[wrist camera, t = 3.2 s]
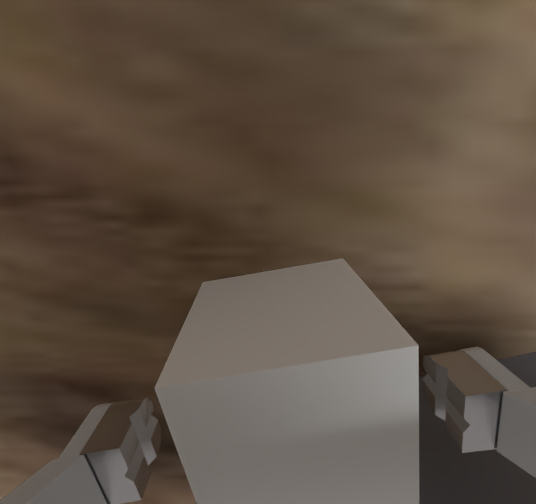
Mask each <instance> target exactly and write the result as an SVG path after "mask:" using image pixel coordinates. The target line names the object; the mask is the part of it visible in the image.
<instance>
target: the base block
mask: <svg viewBox="0 0 536 504" xmlns="http://www.w3.org/2000/svg"><path fill="white" fill-rule="evenodd" d="M497 361H498V362H500V363H501V364H502V365H503V366H505V367H506V368H507V369H508V370H509V371H511V372H512V373H513V374H514V375H515V376H517V377H518V378H519V379H520V380H522V381H523V382H524V383H525V384H526V385H528V386H529V387H530V388H532V387H536V352H532V353H528V354H523V355H518V356H514V357H509V358H504V359H500V360H497ZM425 376H426V375H425ZM425 376H420V377H419V504H536V478H535V477H533V476H532V475H531V474H529V473H528V472H526V471H525V470H523V469H522V468H520V467H519V466H517V465H516V464H515V463H513V462H512V461H510V460H509V459H507V458H506V457H504V456H503V455H501V454H500V453H499V452H497V451H496V450H497V449H493V450H484V451H475V452H466V453H462V452H461V451H460V450H459V448H458V447H457V445H456V444H455V443H454V441H453V440H452V438H451V437H450V435H449V434H448V433H447V431H446V430H445V421H444V420H443V419H441V418H439V417H438V416H436V415H435V414H434V413H433V411H432V410H431V408H430V407H429V405H428V403H427V401H426V398H425V395H424V391H423V378H424V377H425Z"/></svg>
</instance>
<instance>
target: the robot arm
mask: <svg viewBox="0 0 536 504" xmlns="http://www.w3.org/2000/svg"><path fill="white" fill-rule="evenodd" d="M423 368H424V369H425V371H426V372H427V374H426V376H425V377H424V378H423V391H424V395H425V398H426V401H427V403H428V405H429V407H430V408H431V410H432V411H433V413H434V414H435V415H436V416H438V417H439V418H441V419H443V420H444V421H445V430H446V431H447V433H448V434H449V435H450V437H451V438H452V440H453V441H454V443H455V444H456V445H457V447H458V448H459V450H460V451H461V452H462V453H466V452H475V451H484V450H493V449H497V450H496V451H497V452H499V453H500V454H501V455H503V456H504V457H506V458H507V459H509V460H510V461H512V462H513V463H515V464H516V465H517V466H519V467H520V468H522V469H523V470H525V471H526V472H528V473H529V474H531V475H532V476H533V477H535V478H536V387H532V388H530V387H529V386H528V385H526V384H525V383H524V382H523V381H522V380H520V379H519V378H518V377H517V376H515V375H514V374H513V373H512V372H511V371H509V370H508V369H507V368H506V367H505V366H503V365H502V364H501V363H500V362H498V361H497V360H496V359H495V358H494V357H492V356H491V355H490V354H489V353H487V352H486V351H485V350H484V349H482V348H480V347H472V348H466V349H460V350H456V351H450V352H444V353H437V354H431V355H425V356H424V358H423ZM153 409H154V407H153V404H152V402H151V399H148V398H143V399H136V400H128V401H120V402H114V403H107V404H99V405H97V406H95V407H94V408H92V410H91V411H90V413H89V414H88V416H87V417H86V418H85V420H84V421H83V423H82V424H81V426H80V427H79V429H78V430H77V432H76V433H75V434H74V436H73V437H72V439H71V440H70V442H69V443H68V445H67V446H66V448H65V449H64V451H63V452H62V453H61V455H60V456H59V458H58V459H52V460H51V461H50V462H48V463H47V464H46V465H45V466H43V467H42V468H41V469H39V470H38V471H37V472H36V473H34V474H33V475H32V476H31V477H29V478H28V479H27V480H25V481H24V482H23V483H22V484H20V485H19V486H18V487H17V488H15V489H14V490H13V491H11V492H10V493H9V494H8V495H6V496H5V497H4V498H3V499H1V500H0V504H122V503H127V502H133V501H138V500H142V497H143V494H144V491H145V488H146V486H147V483H148V480H149V477H150V474H151V472H150V469H149V466H148V465H149V464H150V463H151V462H152V461H153V460H154V459H155V458H156V457H157V454H158V451H159V448H160V442H161V427H160V424H159V421H158V419H156V418H155V417H154V416H152V415H151V414H152V412H153Z"/></svg>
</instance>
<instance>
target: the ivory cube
mask: <svg viewBox="0 0 536 504" xmlns="http://www.w3.org/2000/svg"><path fill="white" fill-rule="evenodd" d="M154 389H155V392H156V395H157V397H158V400H159V403H160V405H161V408H162V411H163V414H164V416H165V419H166V422H167V425H168V427H169V430H170V433H171V435H172V438H173V441H174V444H175V446H176V449H177V452H178V454H179V457H180V460H181V463H182V465H183V468H184V471H185V473H186V476H187V479H188V482H189V484H190V487H191V490H192V493H193V495H194V498H195V501H196V503H197V504H419V345H418V344H417V343H416V342H415V341H414V340H413V338H412V337H411V336H410V335H409V334H408V333H407V331H406V330H405V329H404V328H403V327H402V326H401V325H400V323H399V322H398V321H397V320H396V319H395V318H394V316H393V315H392V314H391V313H390V312H389V311H388V310H387V308H386V307H385V306H384V305H383V304H382V303H381V301H380V300H379V299H378V298H377V297H376V296H375V294H374V293H373V292H372V291H371V290H370V289H369V288H368V286H367V285H366V284H365V283H364V282H363V281H362V279H361V278H360V277H359V276H358V275H357V274H356V273H355V271H354V270H353V269H352V268H351V267H350V266H349V264H348V263H347V262H346V261H345V260H344V259H343V258H341V259H335V260H330V261H324V262H318V263H312V264H306V265H300V266H295V267H289V268H283V269H277V270H271V271H265V272H259V273H254V274H248V275H242V276H236V277H230V278H224V279H219V280H213V281H207V282H203V283H202V285H201V287H200V289H199V291H198V294H197V296H196V298H195V300H194V302H193V305H192V307H191V309H190V311H189V313H188V316H187V318H186V320H185V322H184V324H183V326H182V329H181V331H180V333H179V335H178V337H177V340H176V342H175V344H174V346H173V348H172V350H171V353H170V355H169V357H168V359H167V361H166V364H165V366H164V368H163V370H162V372H161V375H160V377H159V379H158V381H157V383H156V385H155V388H154Z"/></svg>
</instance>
